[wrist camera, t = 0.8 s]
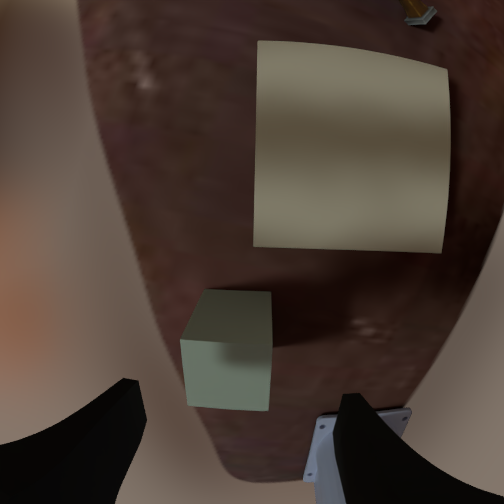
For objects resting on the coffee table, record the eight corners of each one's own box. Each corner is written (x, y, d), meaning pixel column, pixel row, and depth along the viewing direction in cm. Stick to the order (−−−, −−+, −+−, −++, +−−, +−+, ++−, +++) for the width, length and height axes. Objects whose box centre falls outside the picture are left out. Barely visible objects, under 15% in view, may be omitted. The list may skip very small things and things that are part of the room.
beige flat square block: (418, 240, 18) (441, 253, 15) (255, 233, 18) (253, 246, 15) (423, 80, 15) (447, 69, 12) (259, 60, 15) (257, 40, 12)
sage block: (268, 348, 20) (268, 410, 14) (207, 345, 20) (187, 405, 14) (270, 291, 19) (272, 344, 13) (204, 288, 19) (179, 339, 13)
